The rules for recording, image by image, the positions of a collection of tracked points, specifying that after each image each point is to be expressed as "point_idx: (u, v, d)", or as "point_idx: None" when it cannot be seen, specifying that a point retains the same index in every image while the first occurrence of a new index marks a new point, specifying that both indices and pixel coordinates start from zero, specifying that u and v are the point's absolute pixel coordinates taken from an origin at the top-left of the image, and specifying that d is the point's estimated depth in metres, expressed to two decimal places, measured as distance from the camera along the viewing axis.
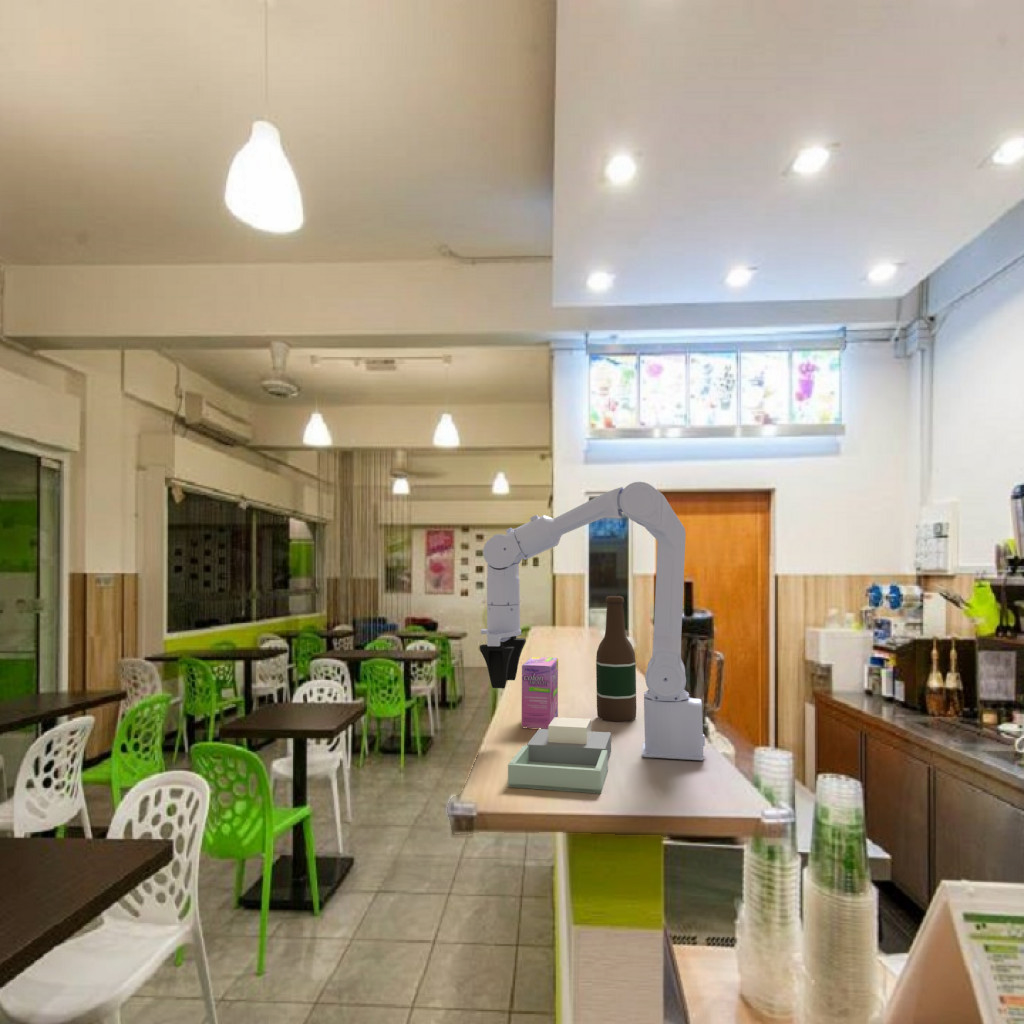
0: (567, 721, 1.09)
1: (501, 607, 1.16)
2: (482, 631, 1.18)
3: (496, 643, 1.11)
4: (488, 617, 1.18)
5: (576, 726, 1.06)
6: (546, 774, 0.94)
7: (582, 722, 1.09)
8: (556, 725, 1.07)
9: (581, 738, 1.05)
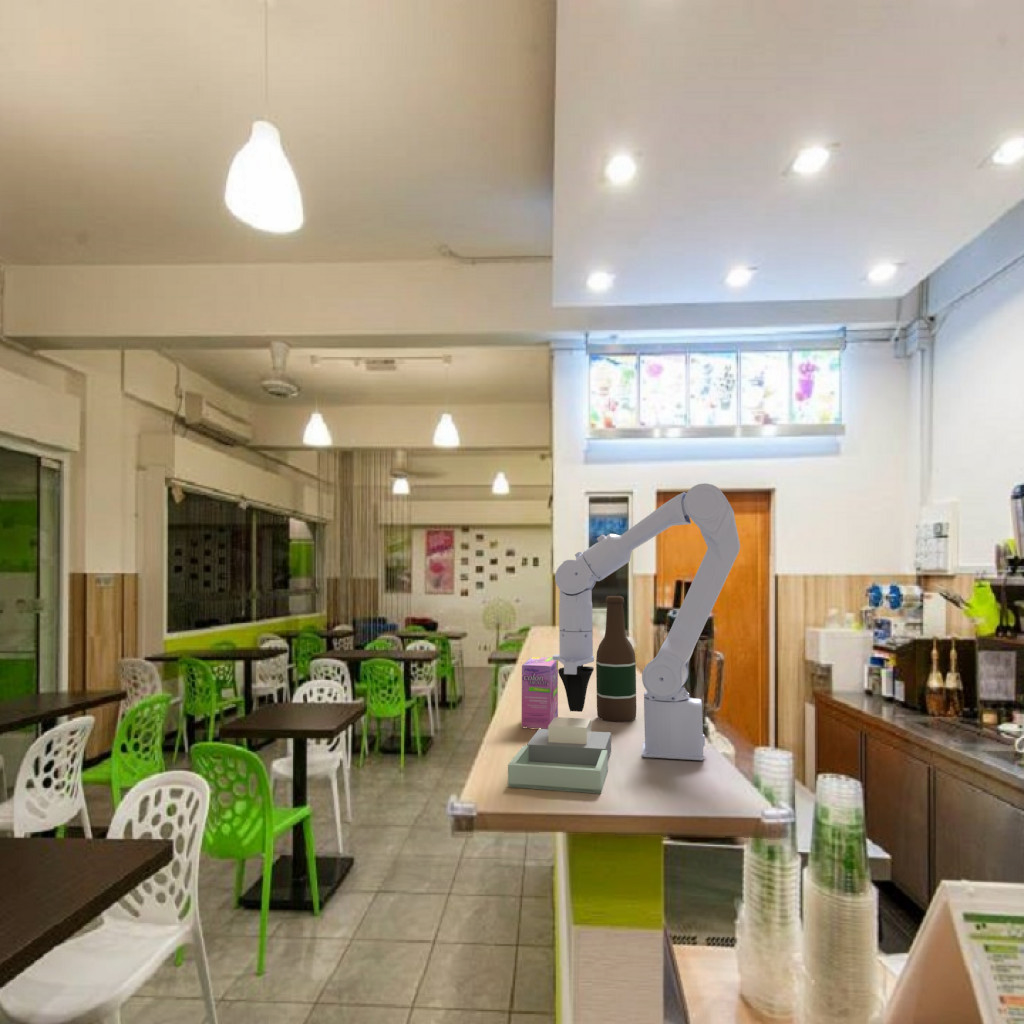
0: (567, 721, 1.09)
1: (575, 634, 1.15)
2: (554, 657, 1.17)
3: (573, 672, 1.10)
4: (561, 643, 1.16)
5: (576, 726, 1.06)
6: (546, 774, 0.94)
7: (582, 722, 1.09)
8: (556, 725, 1.07)
9: (581, 738, 1.05)
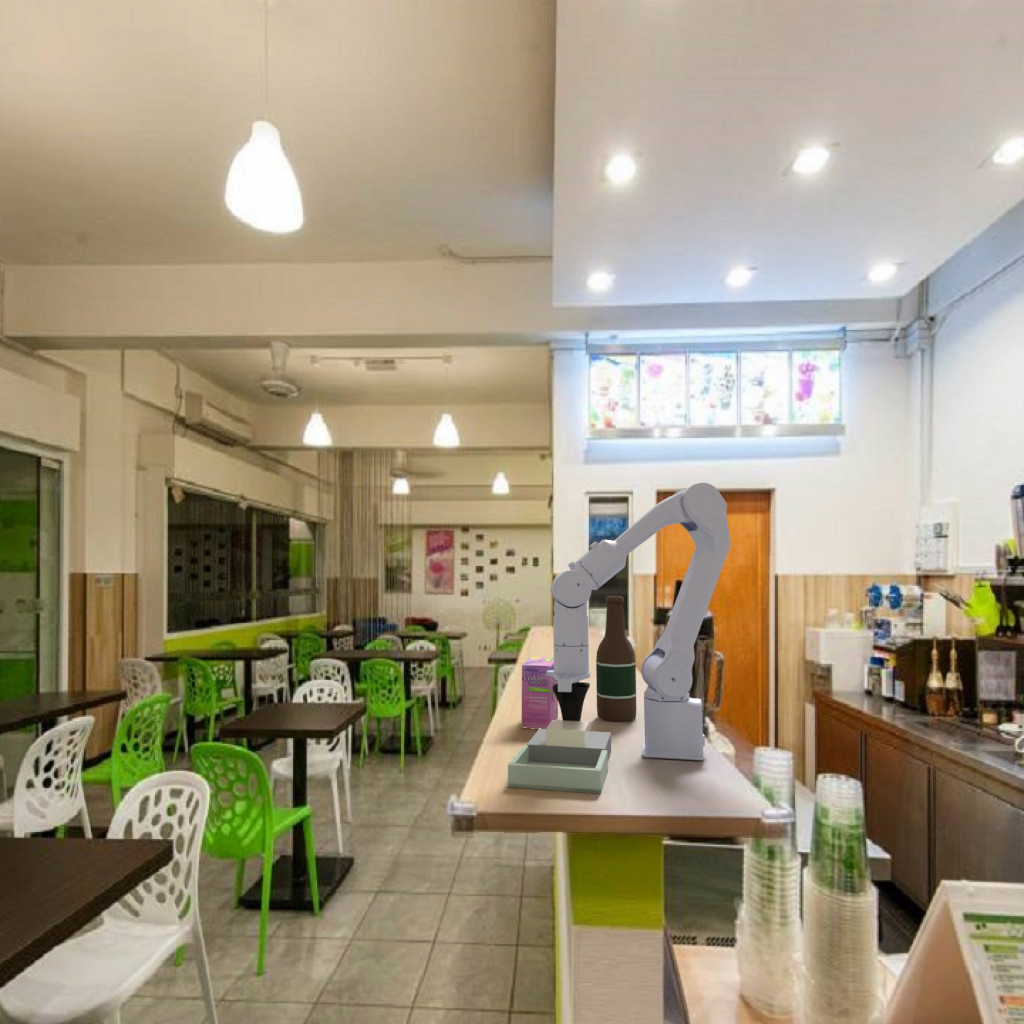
0: (565, 724, 1.07)
1: (570, 648, 1.09)
2: (548, 673, 1.11)
3: (567, 689, 1.04)
4: (555, 658, 1.10)
5: (574, 729, 1.04)
6: (546, 774, 0.94)
7: (580, 725, 1.07)
8: (554, 728, 1.05)
9: (579, 741, 1.03)
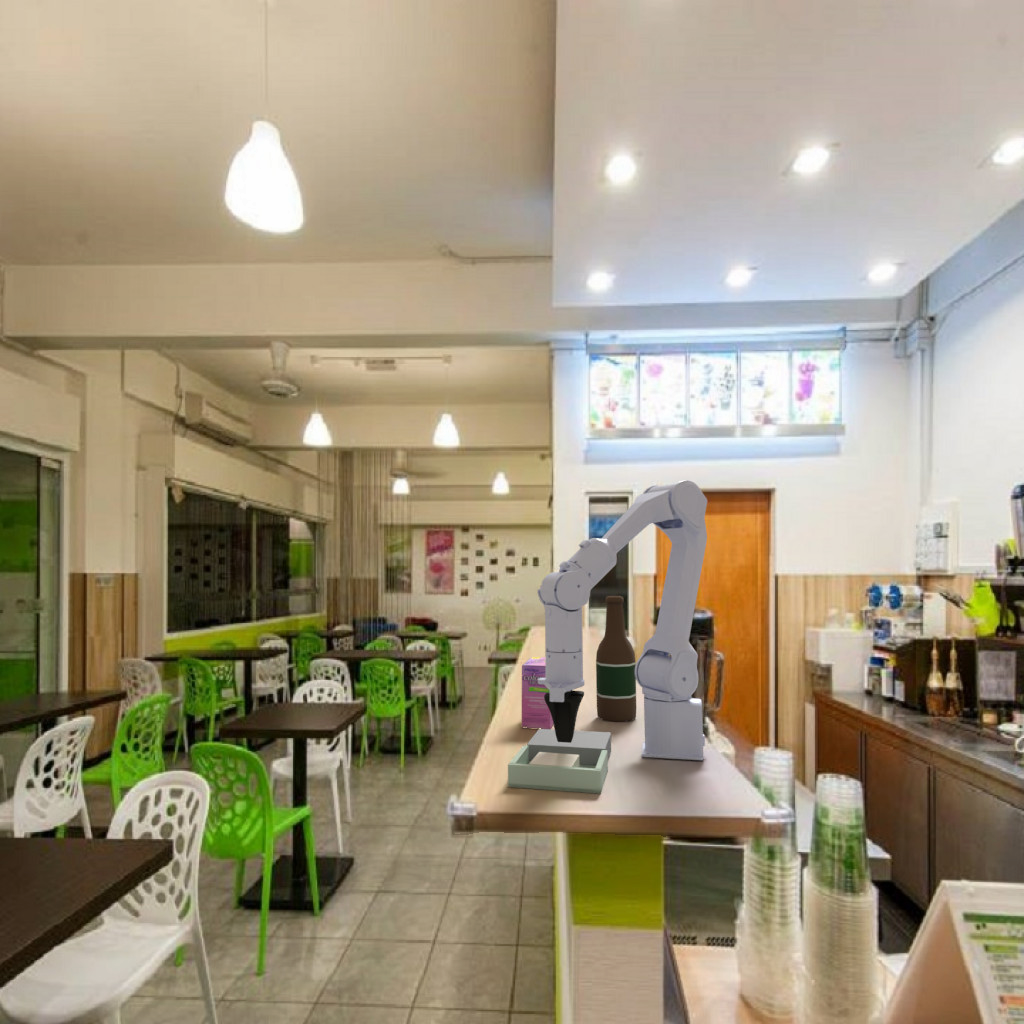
0: None
1: (563, 655, 1.02)
2: (540, 681, 1.04)
3: (560, 699, 0.97)
4: (547, 665, 1.03)
5: None
6: (546, 774, 0.94)
7: None
8: None
9: None
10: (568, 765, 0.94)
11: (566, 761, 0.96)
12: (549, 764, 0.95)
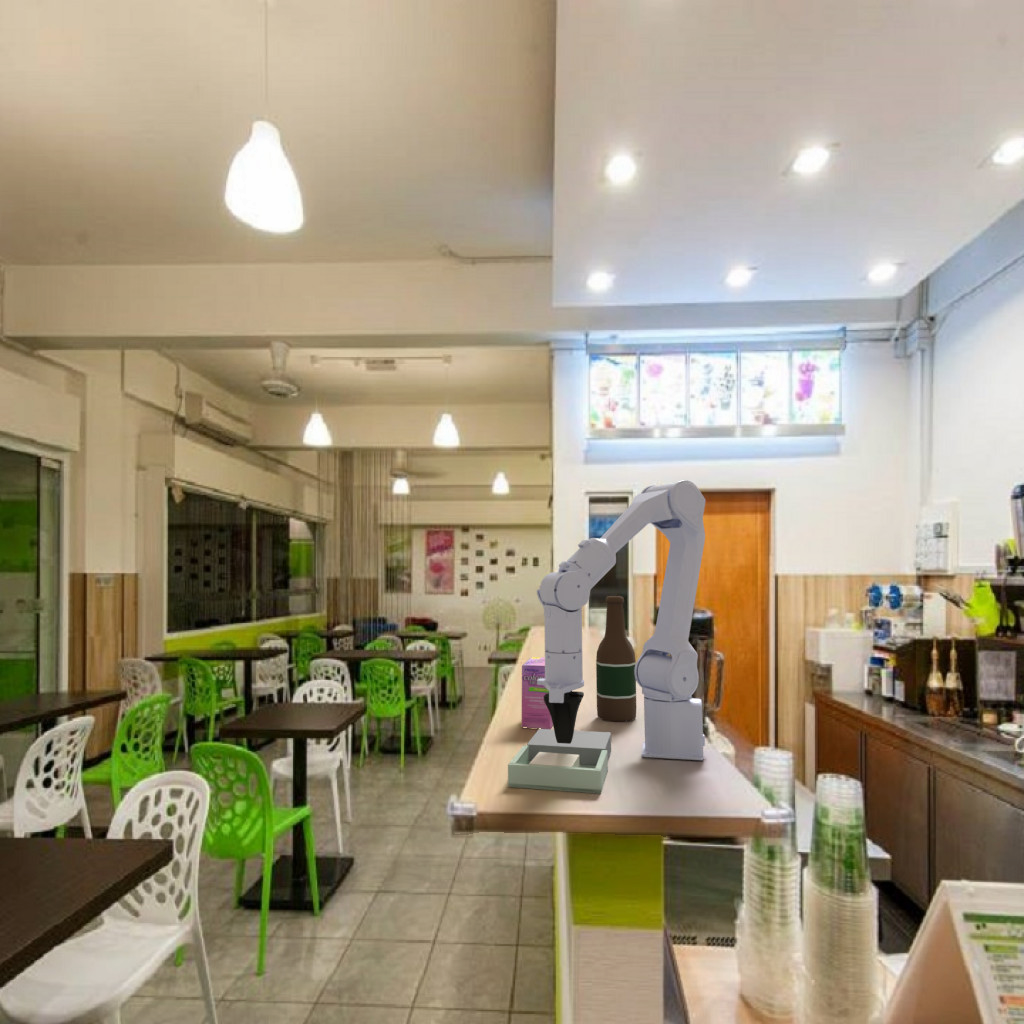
0: None
1: (562, 655, 1.01)
2: (539, 682, 1.03)
3: (559, 700, 0.96)
4: (547, 666, 1.03)
5: None
6: (546, 774, 0.94)
7: None
8: None
9: None
10: (568, 765, 0.94)
11: (566, 761, 0.96)
12: (549, 764, 0.95)
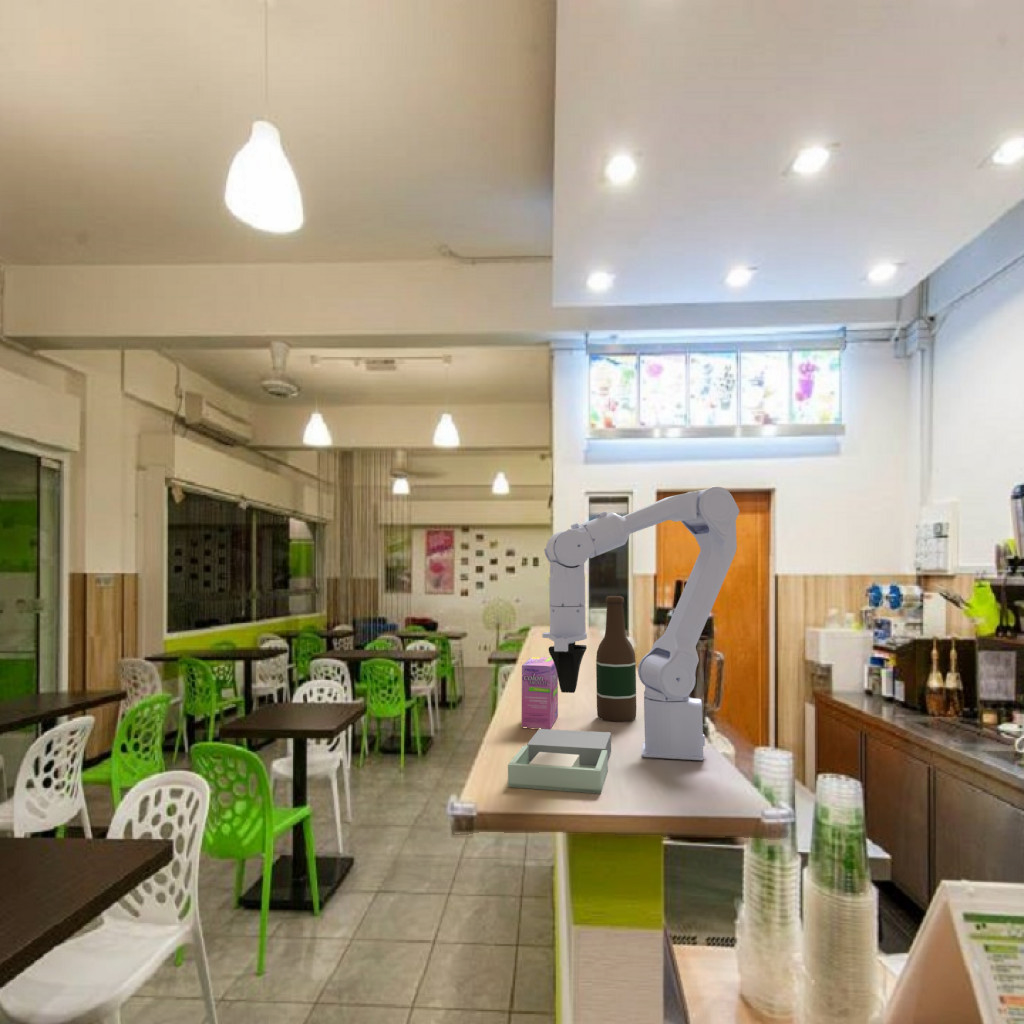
0: None
1: (567, 608, 1.07)
2: (544, 634, 1.09)
3: (564, 648, 1.02)
4: (551, 619, 1.08)
5: None
6: (546, 774, 0.94)
7: None
8: None
9: None
10: (568, 765, 0.94)
11: (566, 761, 0.96)
12: (549, 764, 0.95)
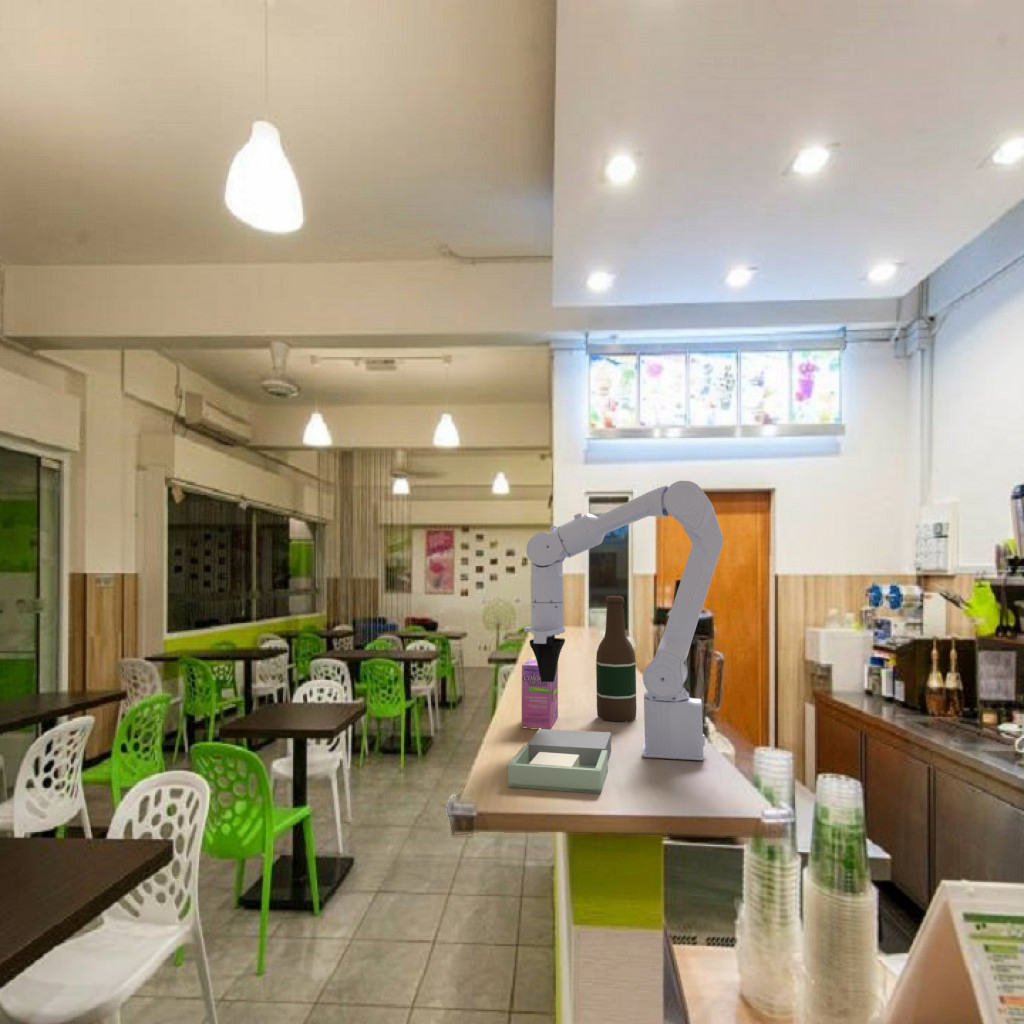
0: None
1: (546, 605, 1.16)
2: (526, 628, 1.19)
3: (542, 641, 1.11)
4: (532, 614, 1.18)
5: None
6: (546, 774, 0.94)
7: None
8: None
9: None
10: (568, 765, 0.94)
11: (566, 761, 0.96)
12: (549, 764, 0.95)
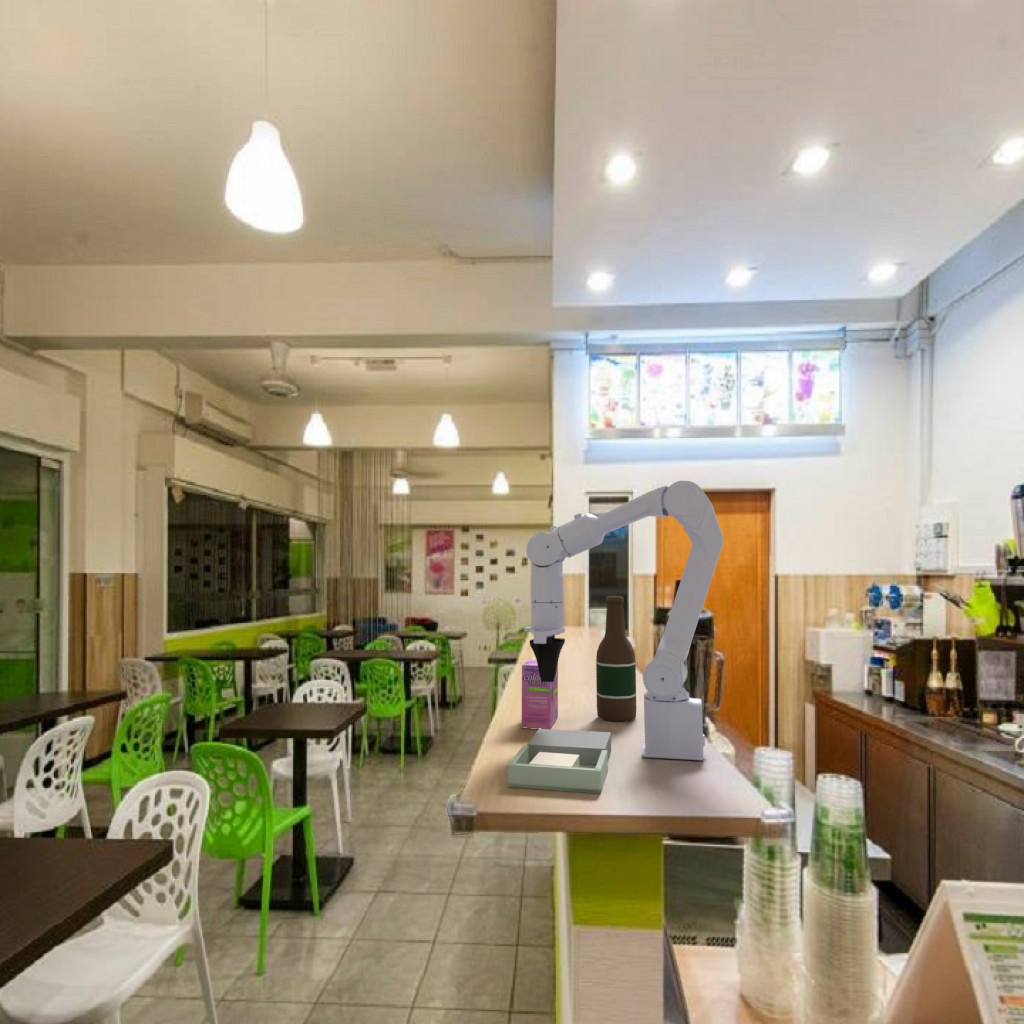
0: None
1: (546, 605, 1.16)
2: (526, 628, 1.19)
3: (542, 641, 1.11)
4: (532, 614, 1.18)
5: None
6: (546, 774, 0.94)
7: None
8: None
9: None
10: (568, 765, 0.94)
11: (566, 761, 0.96)
12: (549, 764, 0.95)
